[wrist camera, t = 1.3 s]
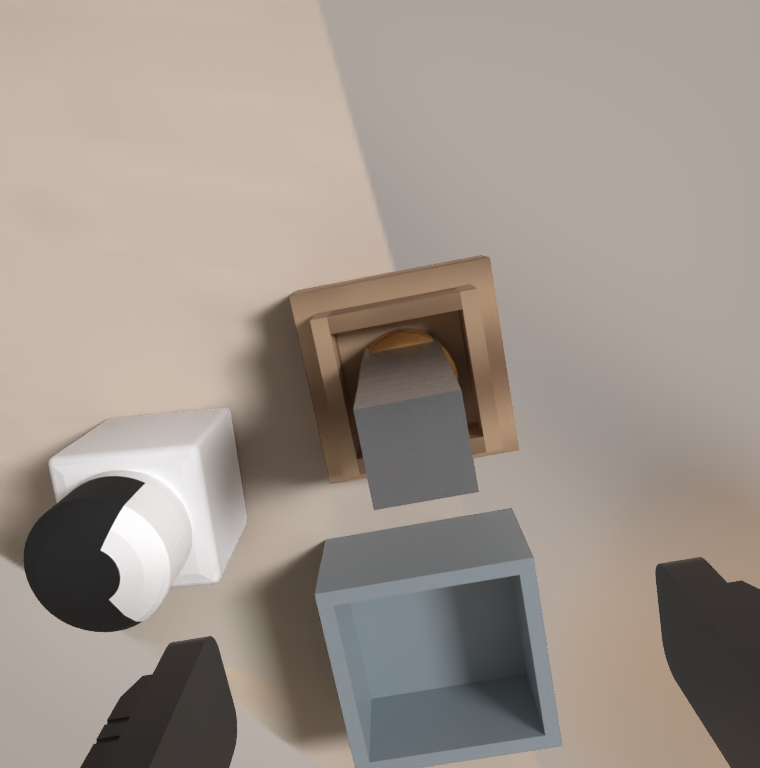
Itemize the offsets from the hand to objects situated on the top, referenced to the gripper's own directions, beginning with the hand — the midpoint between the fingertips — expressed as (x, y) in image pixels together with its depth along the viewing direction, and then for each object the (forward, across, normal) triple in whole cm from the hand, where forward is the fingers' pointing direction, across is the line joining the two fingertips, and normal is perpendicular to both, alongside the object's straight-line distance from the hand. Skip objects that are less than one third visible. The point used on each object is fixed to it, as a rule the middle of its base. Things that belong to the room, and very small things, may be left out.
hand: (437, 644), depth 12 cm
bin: (+26, +1, +15) cm, 30 cm away
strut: (+23, 0, 0) cm, 23 cm away
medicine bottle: (+26, +14, +4) cm, 30 cm away
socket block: (+26, 0, 0) cm, 26 cm away
